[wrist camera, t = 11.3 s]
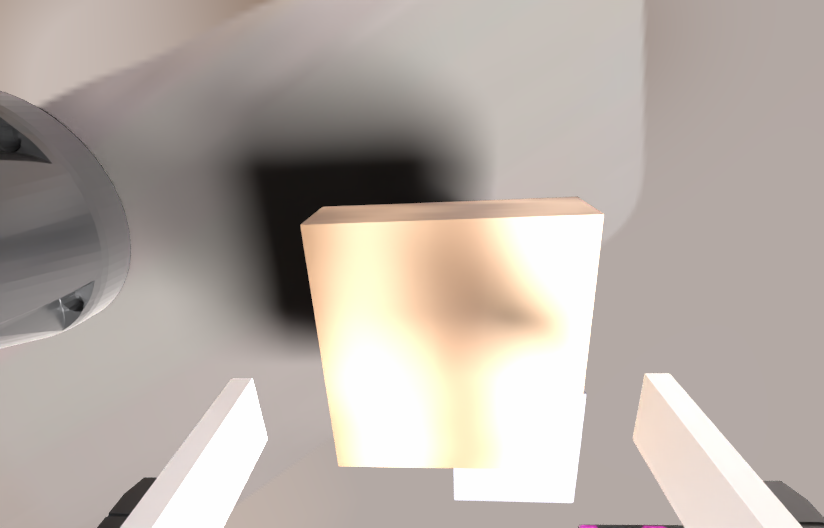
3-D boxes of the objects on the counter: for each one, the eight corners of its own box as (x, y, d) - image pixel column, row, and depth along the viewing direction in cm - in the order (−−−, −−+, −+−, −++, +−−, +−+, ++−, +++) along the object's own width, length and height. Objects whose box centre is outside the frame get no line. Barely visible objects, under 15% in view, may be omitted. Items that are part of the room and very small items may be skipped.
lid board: (351, 421, 22) (338, 466, 19) (322, 206, 18) (300, 224, 15) (557, 422, 21) (574, 470, 18) (577, 196, 17) (603, 214, 14)
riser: (453, 470, 30) (454, 500, 28) (450, 369, 27) (451, 393, 25) (563, 472, 30) (573, 503, 27) (573, 368, 26) (586, 393, 24)
